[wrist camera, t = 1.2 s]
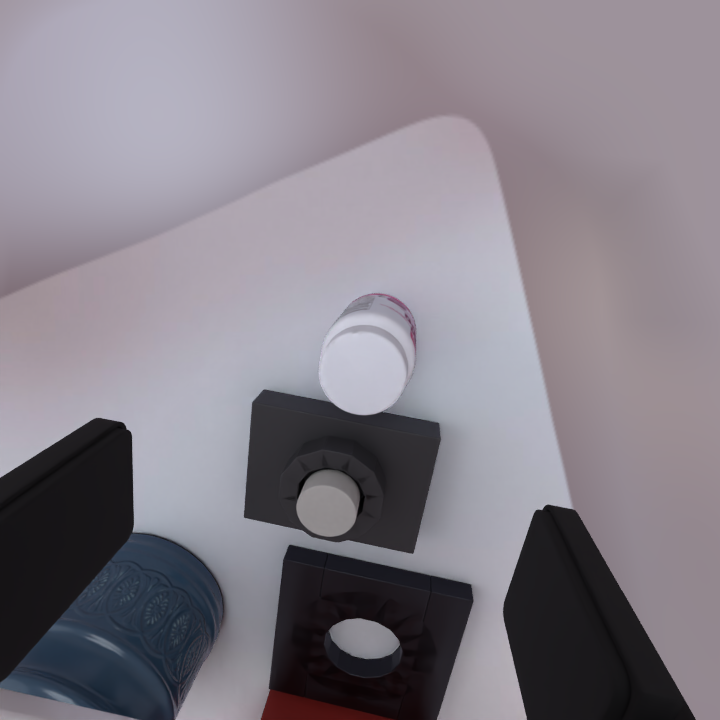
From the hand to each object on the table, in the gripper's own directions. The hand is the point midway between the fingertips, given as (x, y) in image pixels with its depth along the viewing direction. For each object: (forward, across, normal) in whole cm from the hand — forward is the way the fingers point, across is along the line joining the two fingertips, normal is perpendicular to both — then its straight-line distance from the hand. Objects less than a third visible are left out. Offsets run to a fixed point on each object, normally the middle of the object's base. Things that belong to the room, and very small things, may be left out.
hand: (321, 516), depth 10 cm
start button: (+15, +1, +10) cm, 18 cm away
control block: (+18, +1, +10) cm, 21 cm away
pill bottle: (+18, 0, 0) cm, 18 cm away
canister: (+19, +15, +26) cm, 36 cm away
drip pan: (+18, -3, +25) cm, 31 cm away
